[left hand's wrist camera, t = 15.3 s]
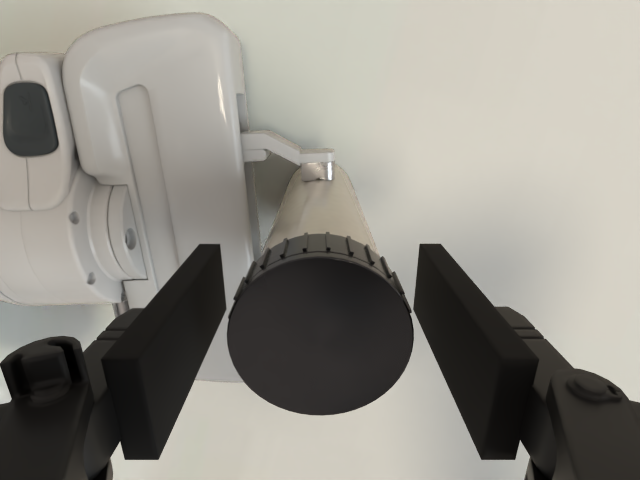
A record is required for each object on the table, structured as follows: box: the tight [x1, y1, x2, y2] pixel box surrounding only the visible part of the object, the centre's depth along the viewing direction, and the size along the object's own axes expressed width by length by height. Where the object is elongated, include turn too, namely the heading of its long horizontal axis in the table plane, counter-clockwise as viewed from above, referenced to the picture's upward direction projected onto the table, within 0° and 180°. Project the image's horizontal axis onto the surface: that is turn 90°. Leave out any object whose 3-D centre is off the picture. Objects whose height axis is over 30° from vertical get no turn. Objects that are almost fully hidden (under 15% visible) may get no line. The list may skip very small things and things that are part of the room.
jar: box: [260, 164, 380, 257], centre depth 19 cm, size 5×5×18 cm
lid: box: [227, 232, 414, 415], centre depth 11 cm, size 5×5×2 cm
